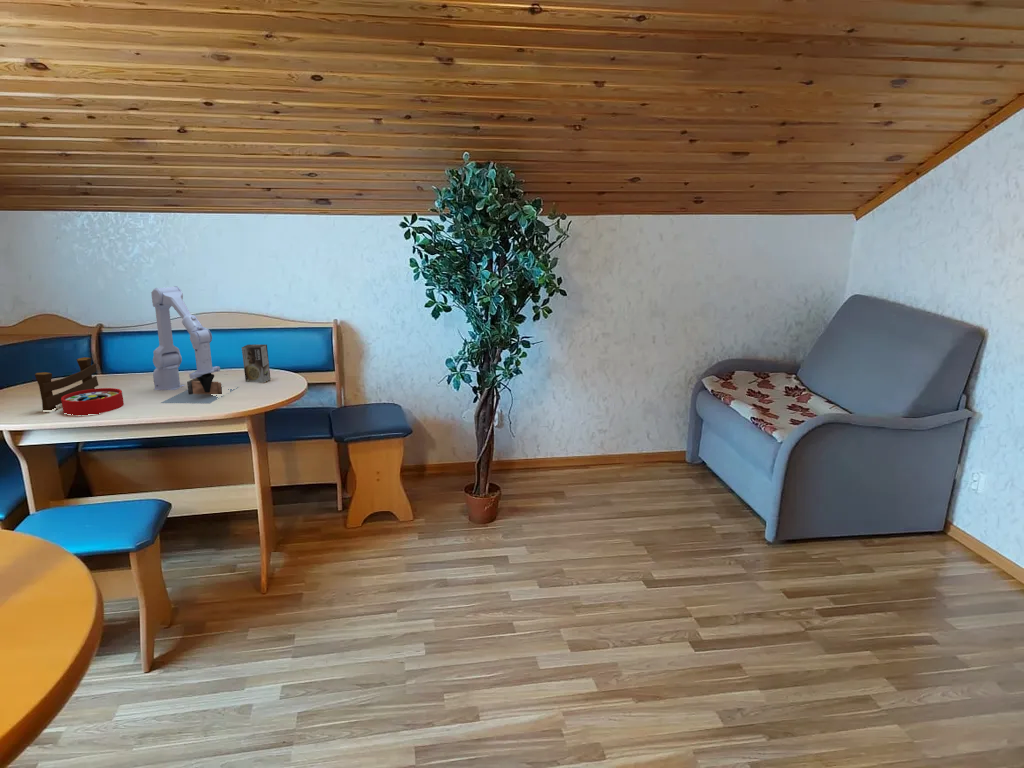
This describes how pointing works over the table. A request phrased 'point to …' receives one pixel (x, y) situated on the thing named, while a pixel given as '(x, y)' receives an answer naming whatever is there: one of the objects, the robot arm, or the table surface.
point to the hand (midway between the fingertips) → (207, 392)
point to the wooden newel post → (199, 389)
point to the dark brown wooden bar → (189, 383)
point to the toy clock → (92, 401)
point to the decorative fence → (66, 383)
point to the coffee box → (256, 363)
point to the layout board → (192, 398)
